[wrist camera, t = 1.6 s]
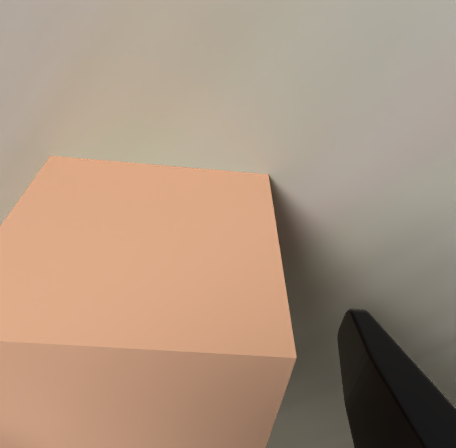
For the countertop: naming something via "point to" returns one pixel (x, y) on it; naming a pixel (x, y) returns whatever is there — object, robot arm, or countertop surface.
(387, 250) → the countertop surface
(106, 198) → the block
